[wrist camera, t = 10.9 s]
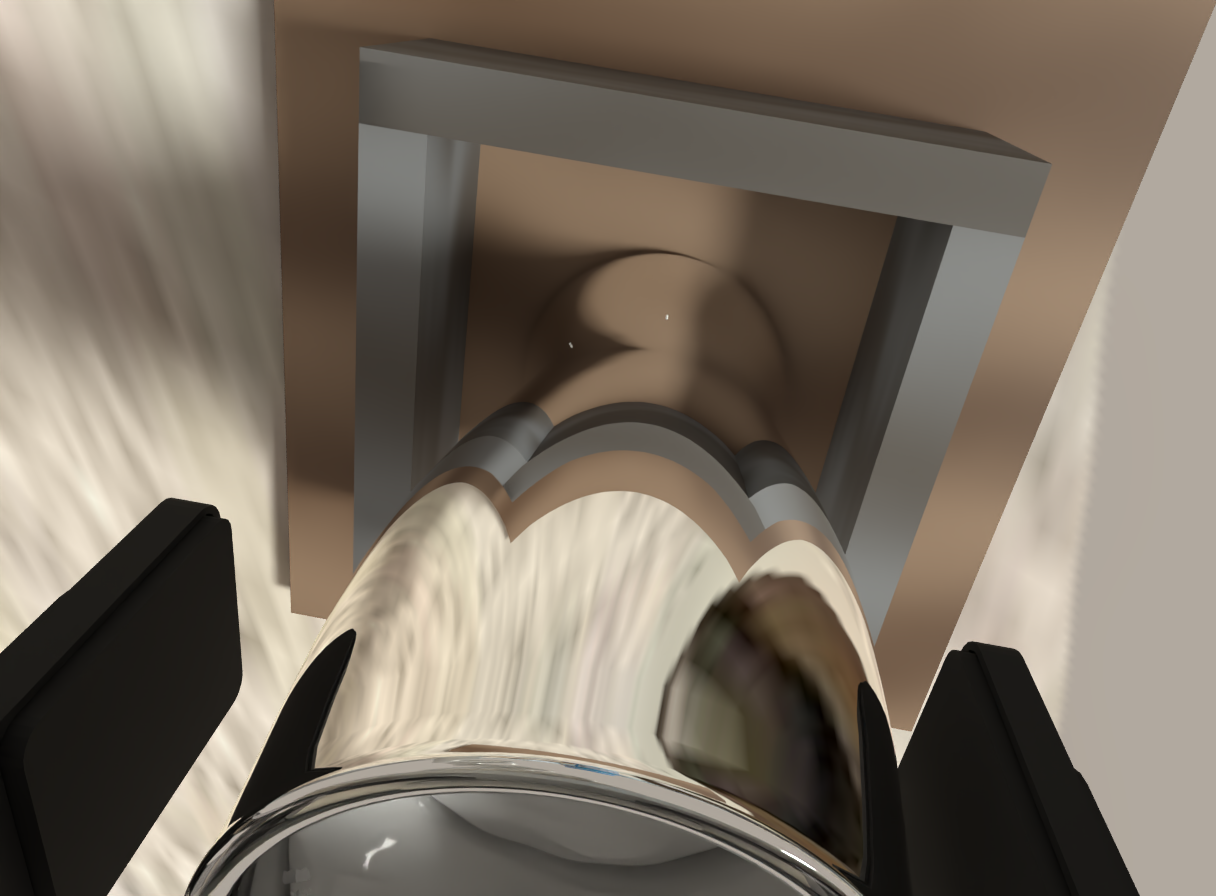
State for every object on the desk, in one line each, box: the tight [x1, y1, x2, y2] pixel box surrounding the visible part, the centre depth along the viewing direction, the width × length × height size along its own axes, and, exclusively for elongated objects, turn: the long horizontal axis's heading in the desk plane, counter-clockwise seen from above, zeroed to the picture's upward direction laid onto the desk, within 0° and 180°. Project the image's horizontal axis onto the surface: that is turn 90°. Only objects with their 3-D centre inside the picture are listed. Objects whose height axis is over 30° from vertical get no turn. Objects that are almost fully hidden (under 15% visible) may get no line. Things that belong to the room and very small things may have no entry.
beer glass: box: [184, 253, 913, 896], centre depth 14 cm, size 7×7×15 cm
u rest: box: [274, 0, 1216, 731], centre depth 19 cm, size 20×18×5 cm
